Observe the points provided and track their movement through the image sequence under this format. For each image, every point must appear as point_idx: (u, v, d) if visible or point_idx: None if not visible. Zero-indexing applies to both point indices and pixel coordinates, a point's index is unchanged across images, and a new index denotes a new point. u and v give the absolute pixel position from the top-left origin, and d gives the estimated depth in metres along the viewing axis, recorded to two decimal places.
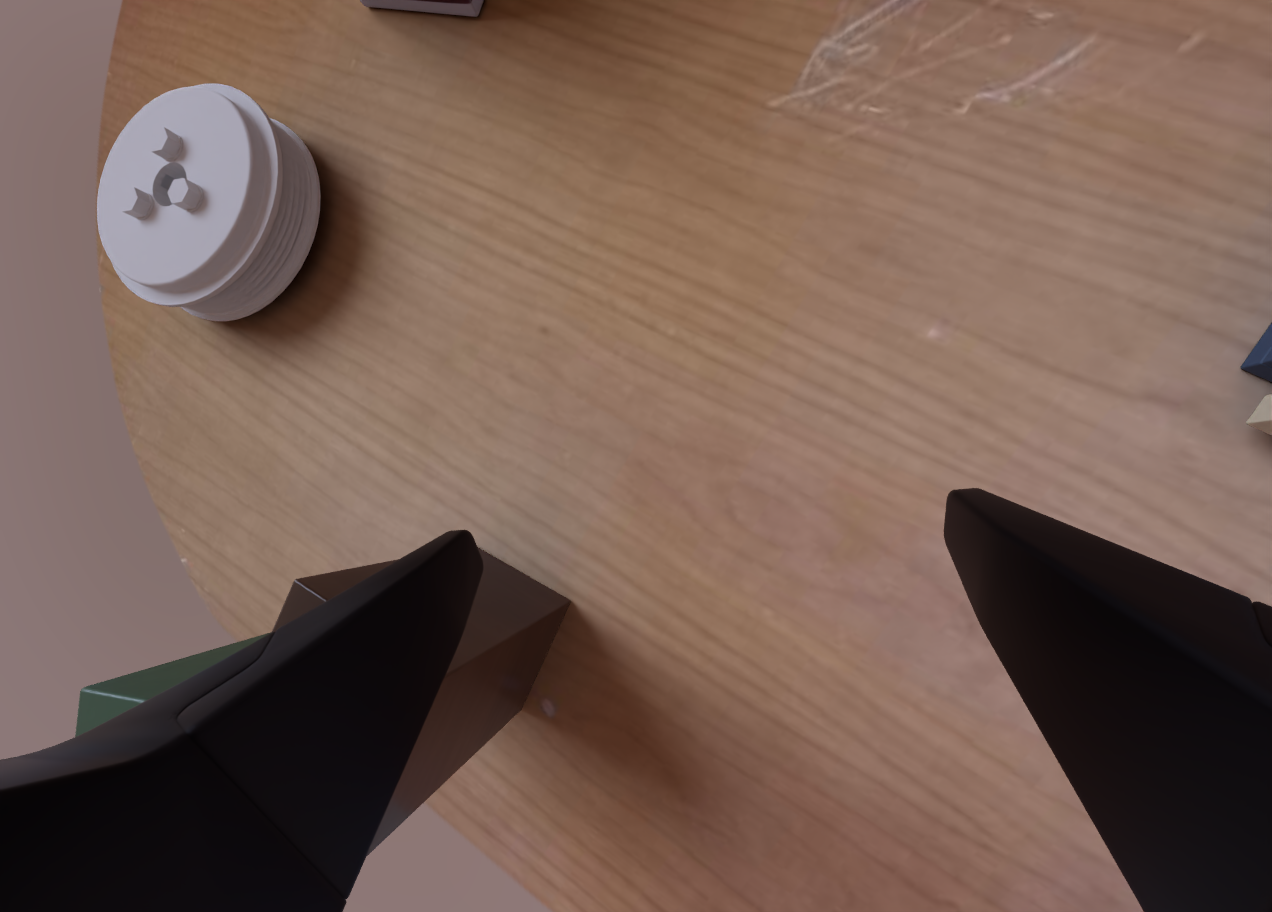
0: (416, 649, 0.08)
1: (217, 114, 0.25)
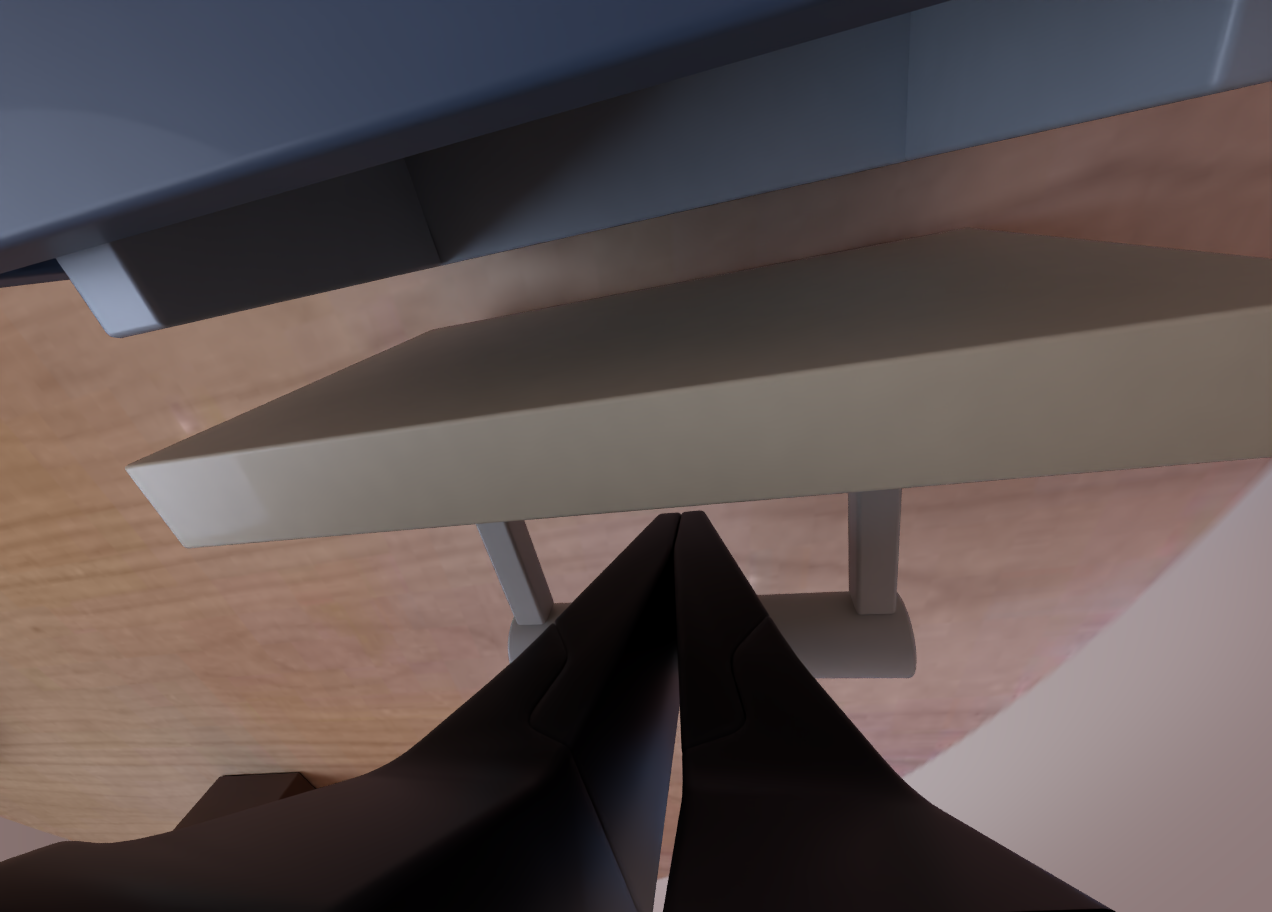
0: (670, 644, 0.07)
1: None
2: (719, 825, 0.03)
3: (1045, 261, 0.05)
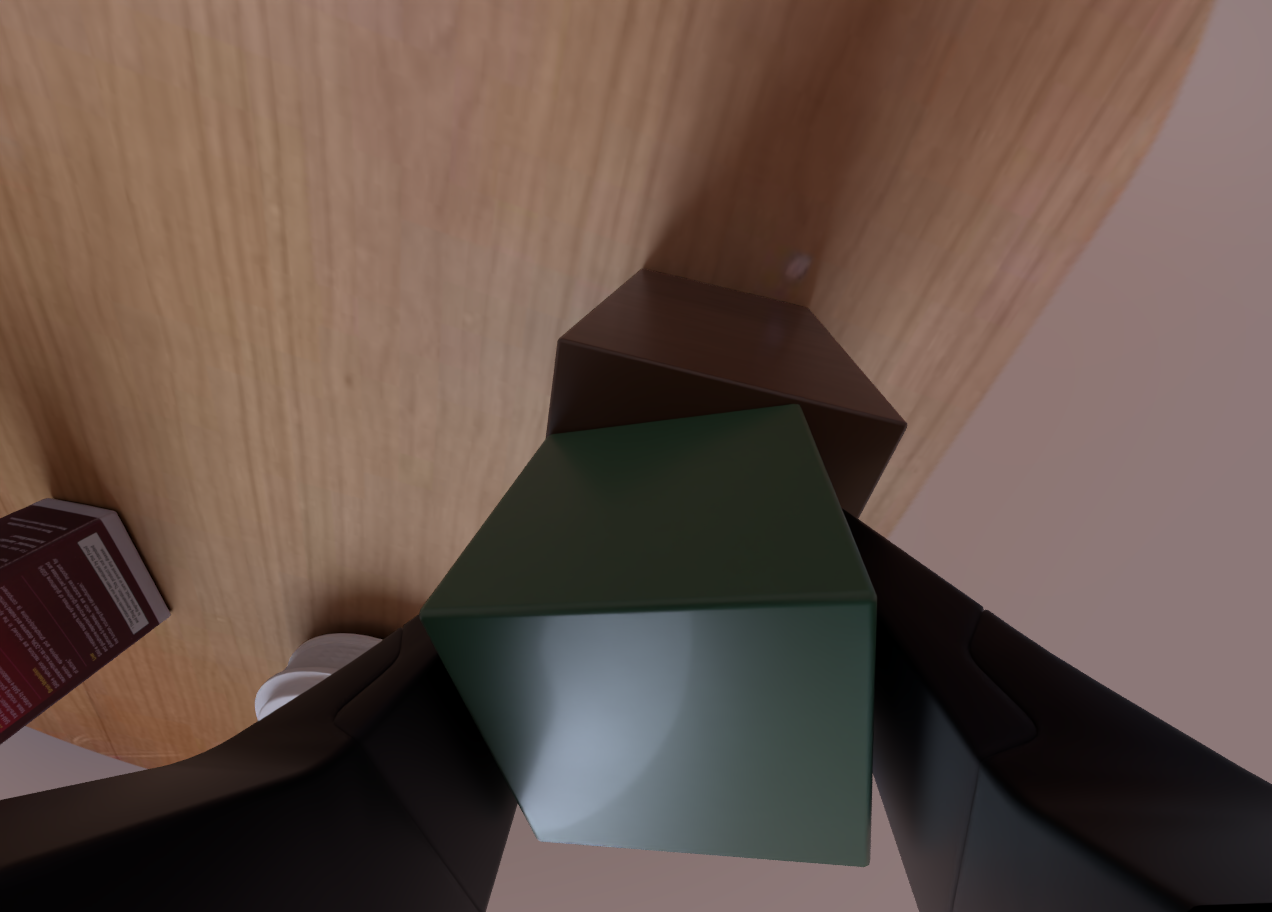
0: None
1: None
2: (1157, 854, 0.02)
3: None
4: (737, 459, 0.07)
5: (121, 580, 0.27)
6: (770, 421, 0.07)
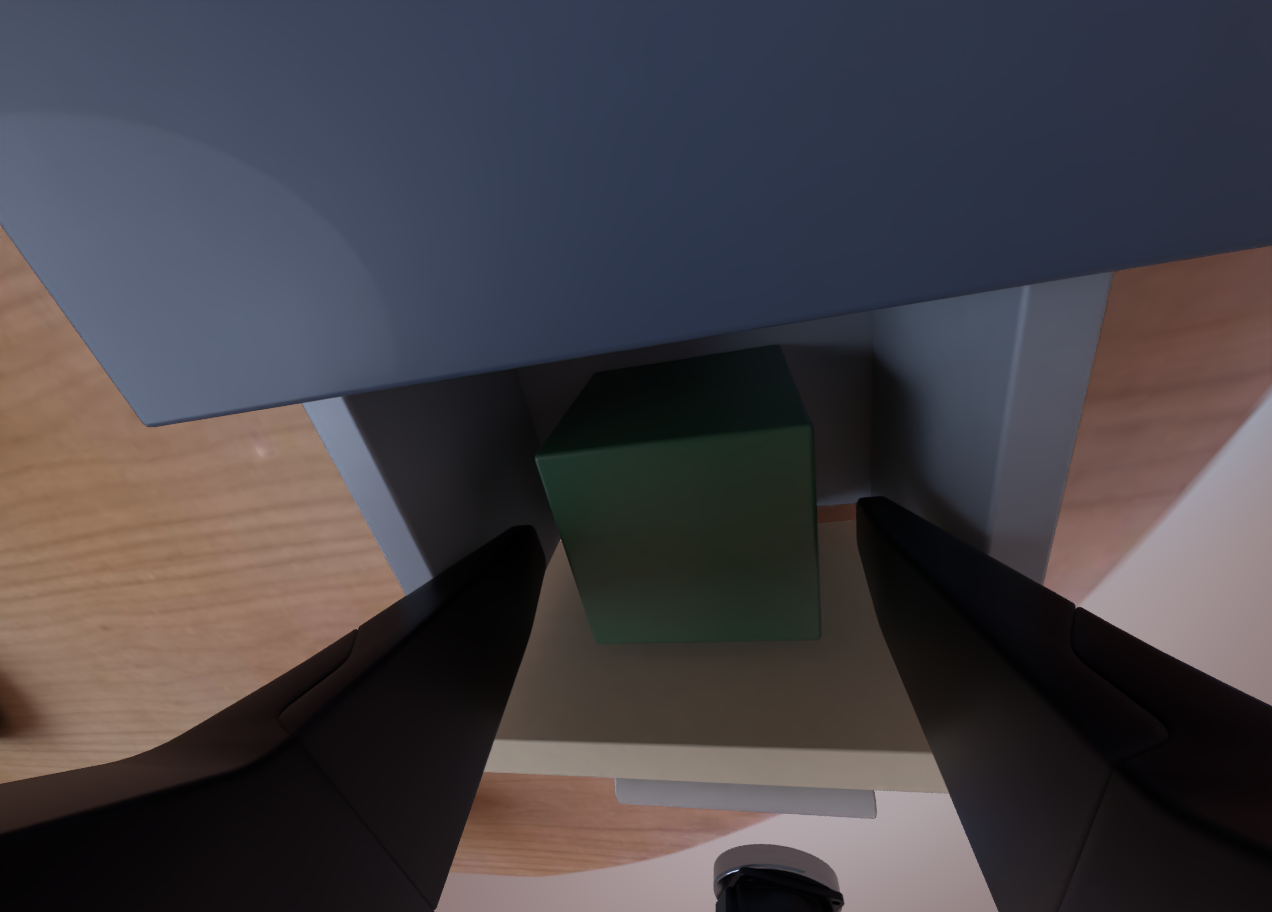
0: (492, 648, 0.08)
1: None
2: None
3: None
4: (734, 375, 0.10)
5: None
6: (758, 355, 0.10)
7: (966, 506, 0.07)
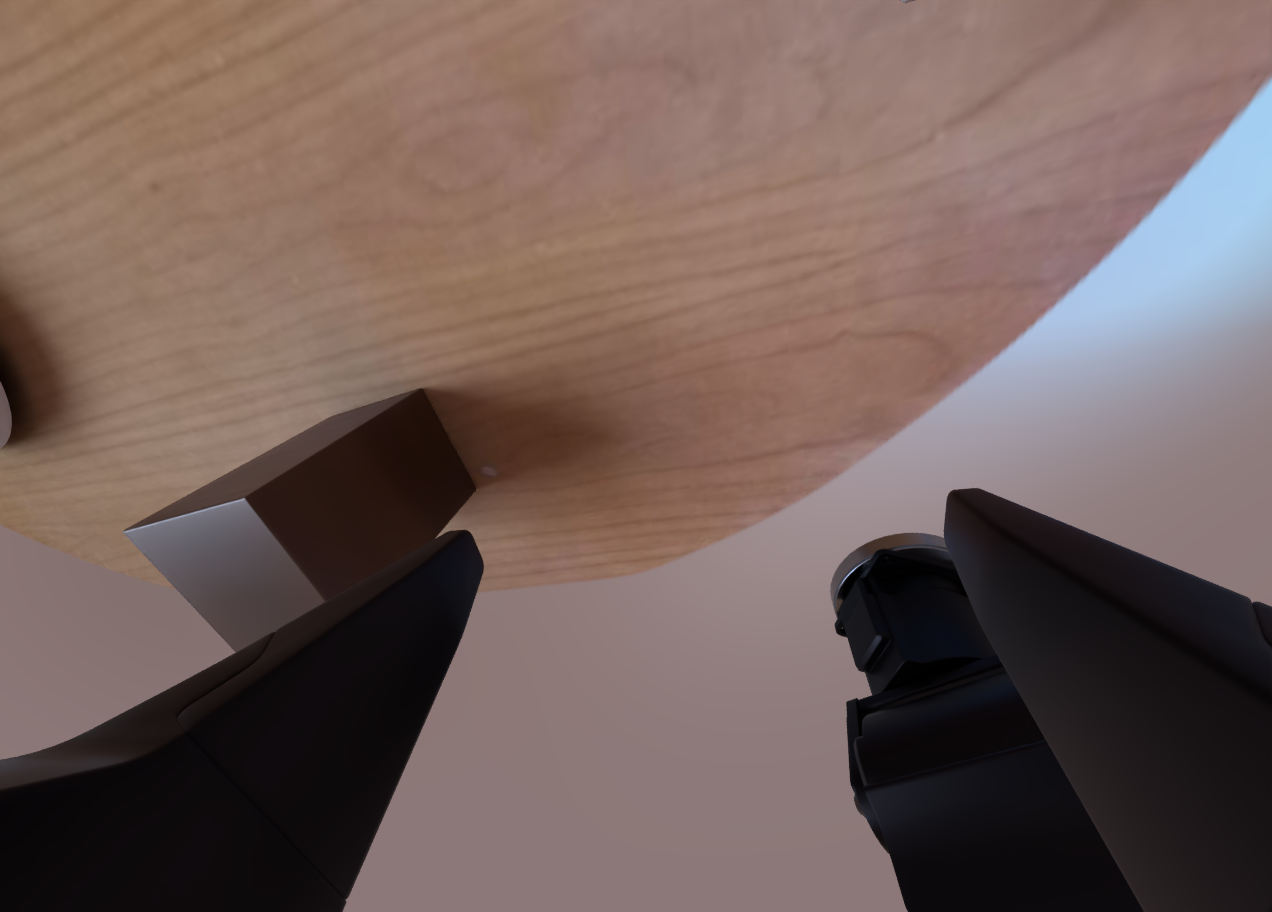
0: (416, 649, 0.08)
1: None
2: None
3: None
4: None
5: None
6: None
7: None
